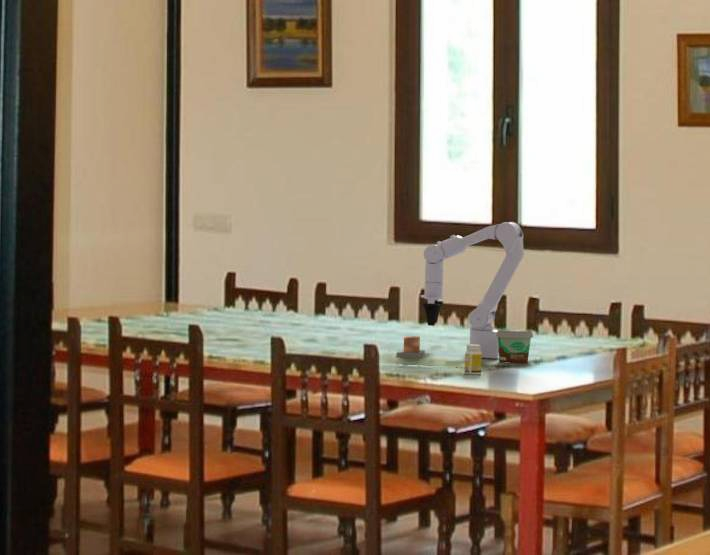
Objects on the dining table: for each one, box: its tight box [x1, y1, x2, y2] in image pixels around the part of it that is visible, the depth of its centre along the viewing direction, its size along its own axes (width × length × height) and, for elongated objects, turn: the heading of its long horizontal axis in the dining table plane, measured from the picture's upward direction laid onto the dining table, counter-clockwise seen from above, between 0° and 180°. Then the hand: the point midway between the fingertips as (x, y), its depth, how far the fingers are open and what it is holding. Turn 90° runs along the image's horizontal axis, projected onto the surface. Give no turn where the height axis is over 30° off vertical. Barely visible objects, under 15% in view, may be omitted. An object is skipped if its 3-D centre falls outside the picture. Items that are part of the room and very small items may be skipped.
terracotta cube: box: [403, 335, 421, 353], centre depth 434 cm, size 4×4×4 cm
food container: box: [496, 328, 534, 364], centre depth 430 cm, size 12×6×10 cm, turn 114°
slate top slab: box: [396, 348, 426, 359], centre depth 434 cm, size 8×8×2 cm
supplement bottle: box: [464, 343, 483, 376], centre depth 401 cm, size 5×5×8 cm
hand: (432, 324), depth 446 cm, fingers open, 7 cm apart
